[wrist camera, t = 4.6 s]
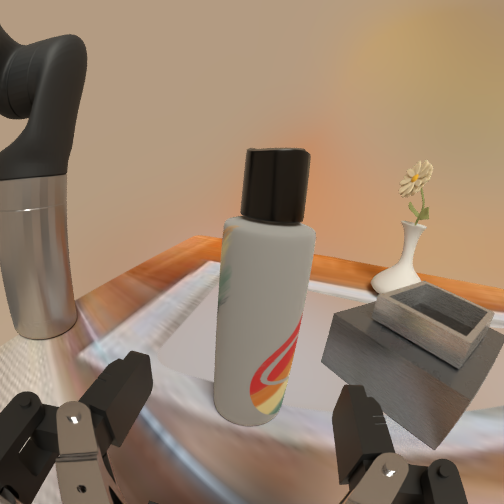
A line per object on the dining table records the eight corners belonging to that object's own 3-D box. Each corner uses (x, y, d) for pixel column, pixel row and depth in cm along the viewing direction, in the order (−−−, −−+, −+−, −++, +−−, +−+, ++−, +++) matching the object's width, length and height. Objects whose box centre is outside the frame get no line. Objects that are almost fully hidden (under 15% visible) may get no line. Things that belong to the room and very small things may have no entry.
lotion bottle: (294, 408, 21) (345, 154, 16) (241, 438, 18) (279, 134, 12) (252, 374, 25) (279, 150, 20) (200, 395, 22) (213, 139, 16)
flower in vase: (369, 280, 54) (390, 158, 48) (420, 292, 50) (444, 170, 43) (367, 305, 43) (395, 149, 36) (429, 319, 39) (462, 165, 32)
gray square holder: (321, 361, 28) (340, 288, 26) (399, 327, 36) (416, 271, 33) (434, 450, 15) (488, 370, 12) (486, 377, 22) (515, 315, 20)
